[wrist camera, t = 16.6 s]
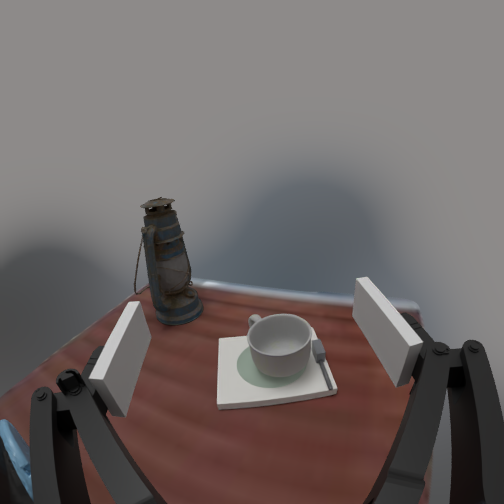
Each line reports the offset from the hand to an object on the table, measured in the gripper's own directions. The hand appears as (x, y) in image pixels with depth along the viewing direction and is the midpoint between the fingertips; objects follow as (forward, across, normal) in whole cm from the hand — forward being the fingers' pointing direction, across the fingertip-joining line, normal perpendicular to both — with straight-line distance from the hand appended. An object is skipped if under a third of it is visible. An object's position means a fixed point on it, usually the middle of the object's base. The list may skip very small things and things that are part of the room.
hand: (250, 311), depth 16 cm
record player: (+25, +3, -30) cm, 39 cm away
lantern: (+49, -19, -30) cm, 60 cm away
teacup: (+25, +4, -28) cm, 38 cm away
